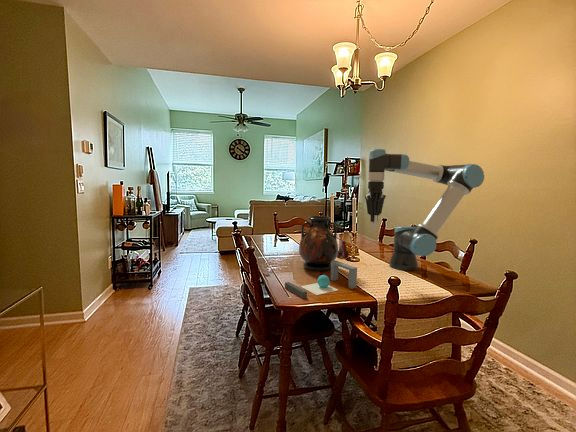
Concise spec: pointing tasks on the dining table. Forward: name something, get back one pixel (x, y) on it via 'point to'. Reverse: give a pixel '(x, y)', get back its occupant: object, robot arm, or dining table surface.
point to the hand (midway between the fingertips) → (373, 228)
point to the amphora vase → (318, 244)
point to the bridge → (351, 269)
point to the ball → (323, 281)
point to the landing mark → (318, 289)
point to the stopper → (296, 290)
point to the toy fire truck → (342, 249)
